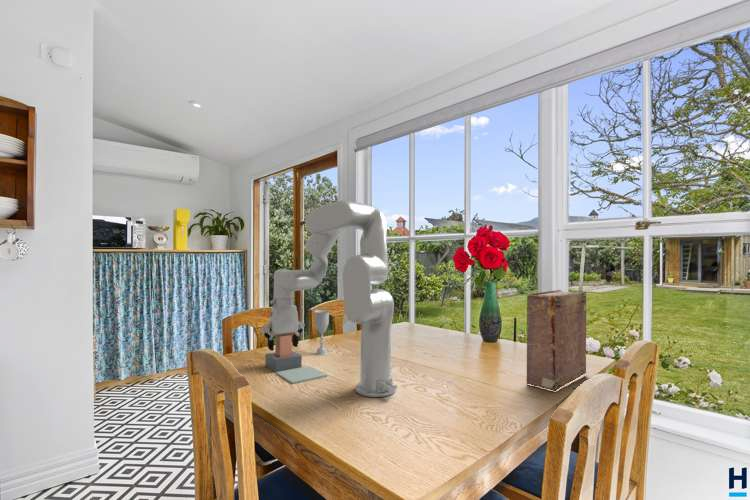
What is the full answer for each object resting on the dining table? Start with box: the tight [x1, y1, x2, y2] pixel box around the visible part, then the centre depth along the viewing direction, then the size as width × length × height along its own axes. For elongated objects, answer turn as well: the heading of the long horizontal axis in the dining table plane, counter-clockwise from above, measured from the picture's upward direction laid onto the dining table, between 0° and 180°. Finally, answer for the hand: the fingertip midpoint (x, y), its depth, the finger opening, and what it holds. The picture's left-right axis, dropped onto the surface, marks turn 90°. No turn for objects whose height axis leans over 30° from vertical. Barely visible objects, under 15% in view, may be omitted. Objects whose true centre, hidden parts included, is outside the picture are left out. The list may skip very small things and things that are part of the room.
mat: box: [275, 365, 328, 385], centre depth 134 cm, size 13×13×1 cm
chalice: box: [313, 309, 331, 356], centre depth 163 cm, size 7×7×18 cm
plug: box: [274, 333, 293, 357], centre depth 144 cm, size 4×4×12 cm
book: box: [526, 289, 587, 391], centre depth 130 cm, size 25×9×30 cm, turn 131°
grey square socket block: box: [264, 350, 303, 373], centre depth 144 cm, size 10×10×4 cm
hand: (283, 348), depth 144 cm, fingers open, 9 cm apart
